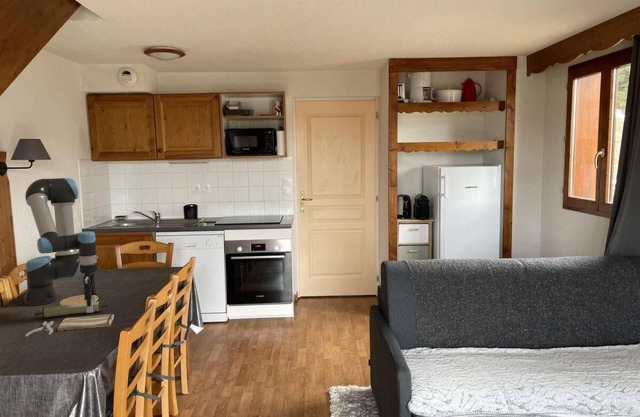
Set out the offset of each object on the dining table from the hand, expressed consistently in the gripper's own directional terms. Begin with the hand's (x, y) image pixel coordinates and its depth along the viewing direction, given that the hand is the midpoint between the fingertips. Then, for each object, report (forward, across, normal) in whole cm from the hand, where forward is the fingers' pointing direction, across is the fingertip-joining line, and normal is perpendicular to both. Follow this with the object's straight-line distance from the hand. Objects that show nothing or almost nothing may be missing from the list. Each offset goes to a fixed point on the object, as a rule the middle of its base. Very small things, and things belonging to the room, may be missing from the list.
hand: (91, 310), depth 227 cm
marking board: (+1, -16, -1) cm, 16 cm away
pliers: (+2, -18, +16) cm, 24 cm away
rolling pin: (+1, -1, +8) cm, 8 cm away
